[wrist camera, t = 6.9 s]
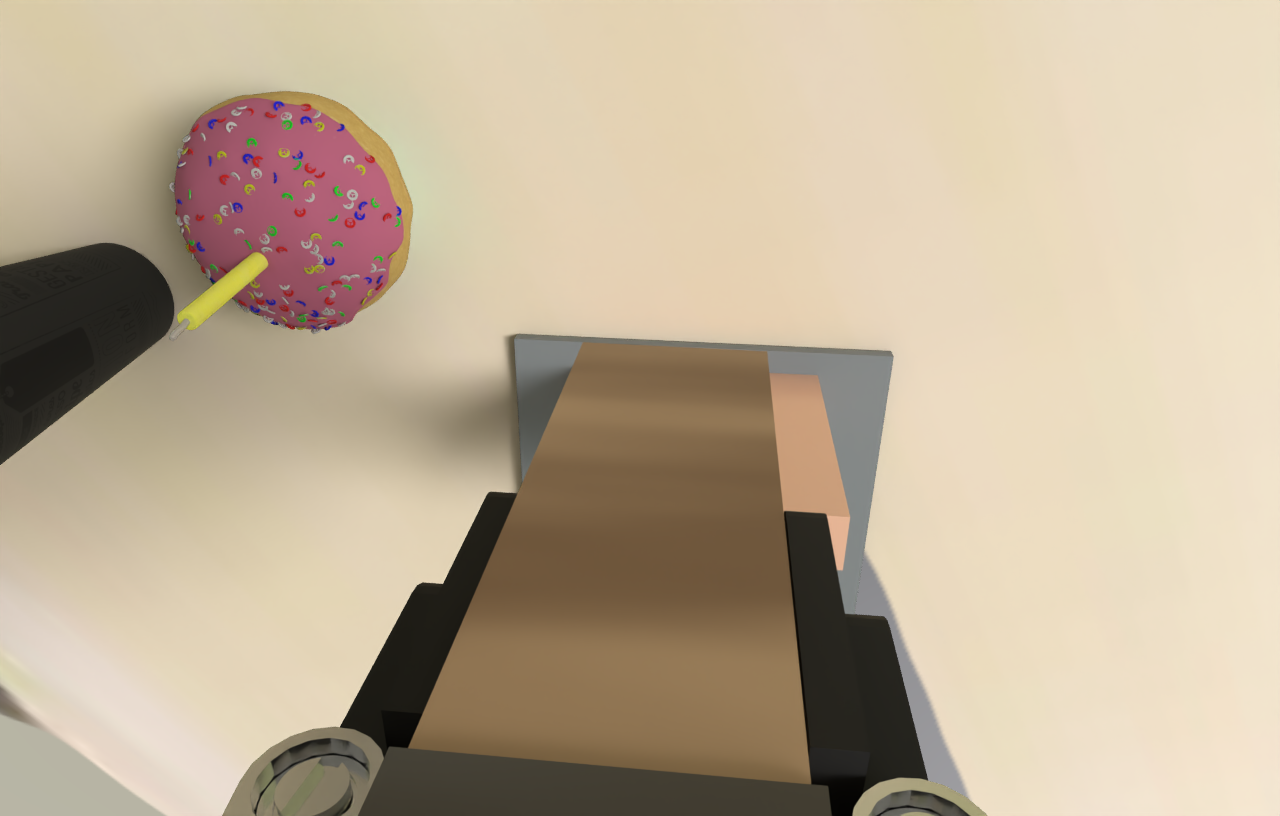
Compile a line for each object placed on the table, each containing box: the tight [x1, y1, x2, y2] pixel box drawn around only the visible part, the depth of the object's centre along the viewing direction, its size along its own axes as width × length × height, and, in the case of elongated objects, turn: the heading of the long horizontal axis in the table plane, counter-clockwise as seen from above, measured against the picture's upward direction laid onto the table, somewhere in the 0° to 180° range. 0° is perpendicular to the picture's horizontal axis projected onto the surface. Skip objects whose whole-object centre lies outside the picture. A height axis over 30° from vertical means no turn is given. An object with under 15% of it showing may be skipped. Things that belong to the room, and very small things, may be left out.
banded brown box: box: [358, 342, 832, 816], centre depth 9 cm, size 5×3×14 cm
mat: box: [514, 334, 893, 614], centre depth 40 cm, size 16×16×1 cm
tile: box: [769, 373, 850, 571], centre depth 32 cm, size 2×10×11 cm, turn 89°
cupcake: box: [169, 91, 413, 341], centre depth 30 cm, size 9×8×12 cm
